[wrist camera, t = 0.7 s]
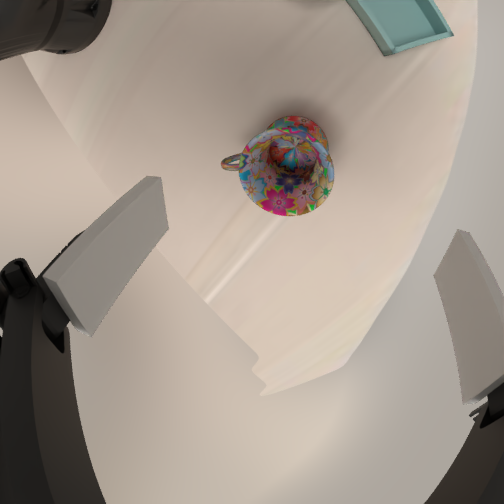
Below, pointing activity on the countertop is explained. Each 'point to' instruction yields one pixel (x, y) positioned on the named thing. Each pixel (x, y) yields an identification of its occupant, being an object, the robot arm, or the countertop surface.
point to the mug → (286, 167)
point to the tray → (401, 23)
